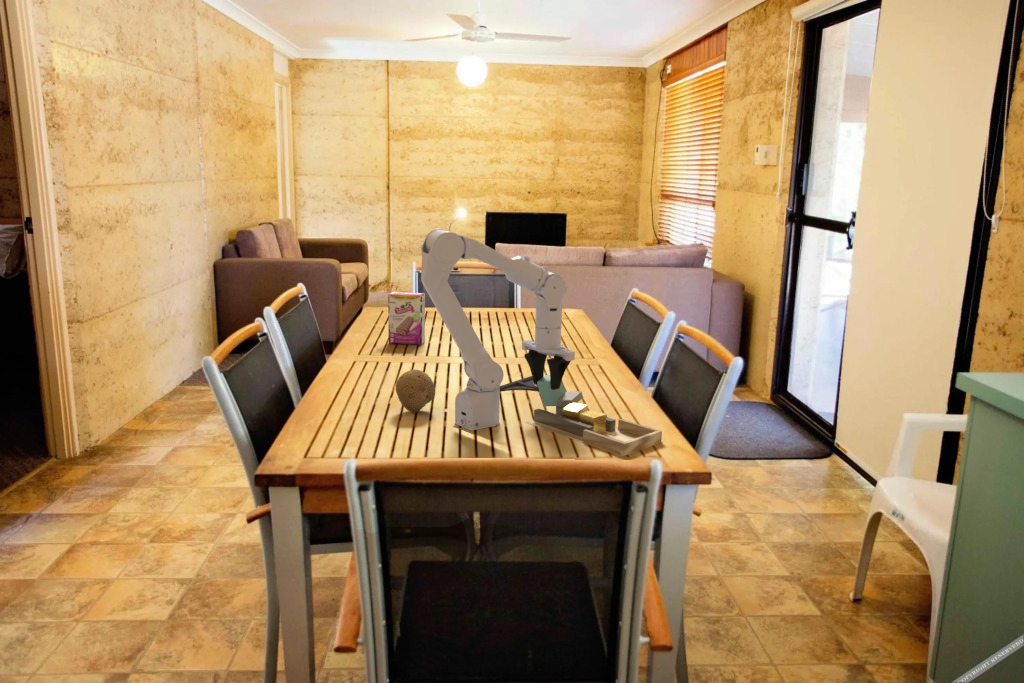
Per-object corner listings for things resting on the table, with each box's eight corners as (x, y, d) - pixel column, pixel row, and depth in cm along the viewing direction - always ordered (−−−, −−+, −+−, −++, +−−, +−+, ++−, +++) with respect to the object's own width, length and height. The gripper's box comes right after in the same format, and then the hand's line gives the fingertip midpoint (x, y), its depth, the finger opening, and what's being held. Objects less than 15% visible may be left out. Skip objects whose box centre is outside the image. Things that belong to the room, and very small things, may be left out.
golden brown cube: (578, 429, 165) (576, 412, 164) (563, 426, 168) (561, 409, 167) (589, 421, 168) (587, 404, 167) (573, 419, 171) (571, 402, 169)
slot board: (622, 461, 151) (622, 444, 150) (526, 426, 170) (526, 411, 169) (662, 446, 159) (663, 430, 159) (567, 415, 179) (567, 400, 178)
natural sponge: (416, 403, 186) (416, 363, 184) (443, 411, 180) (443, 369, 178) (388, 411, 179) (387, 370, 177) (415, 420, 173) (414, 376, 171)
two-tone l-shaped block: (573, 406, 170) (566, 381, 168) (542, 407, 174) (536, 382, 173) (583, 397, 173) (576, 372, 172) (552, 398, 178) (546, 374, 176)
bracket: (543, 403, 190) (543, 392, 190) (496, 392, 199) (496, 381, 198) (575, 391, 201) (576, 381, 201) (529, 381, 210) (530, 371, 210)
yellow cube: (593, 436, 162) (594, 417, 161) (579, 431, 164) (579, 413, 164) (605, 432, 164) (606, 414, 163) (591, 427, 167) (592, 409, 166)
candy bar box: (388, 344, 249) (387, 293, 246) (392, 341, 254) (391, 291, 251) (422, 345, 248) (421, 294, 245) (425, 342, 253) (425, 292, 250)
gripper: (585, 329, 168) (582, 390, 170) (538, 319, 178) (536, 376, 181) (562, 333, 163) (560, 395, 166) (515, 323, 173) (514, 381, 176)
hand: (546, 386), depth 173 cm, fingers closed on two-tone l-shaped block, 5 cm apart
